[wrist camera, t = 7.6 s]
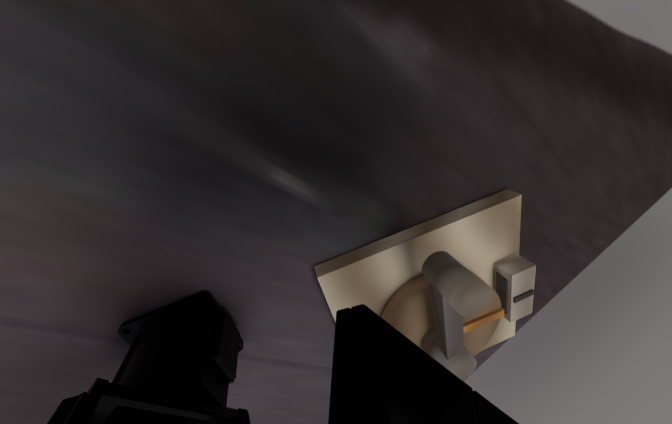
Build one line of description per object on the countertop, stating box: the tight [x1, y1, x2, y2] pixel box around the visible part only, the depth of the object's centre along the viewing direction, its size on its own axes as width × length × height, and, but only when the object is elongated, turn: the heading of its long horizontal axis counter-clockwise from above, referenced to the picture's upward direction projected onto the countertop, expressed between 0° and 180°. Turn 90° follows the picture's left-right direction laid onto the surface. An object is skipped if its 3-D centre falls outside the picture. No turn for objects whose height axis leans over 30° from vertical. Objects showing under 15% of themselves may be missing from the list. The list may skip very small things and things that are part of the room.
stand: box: [314, 189, 536, 351], centre depth 25 cm, size 18×18×4 cm
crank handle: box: [381, 251, 504, 381], centre depth 21 cm, size 11×16×7 cm
